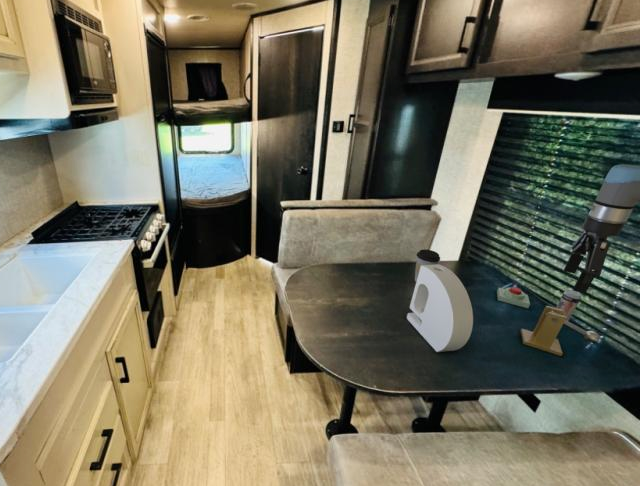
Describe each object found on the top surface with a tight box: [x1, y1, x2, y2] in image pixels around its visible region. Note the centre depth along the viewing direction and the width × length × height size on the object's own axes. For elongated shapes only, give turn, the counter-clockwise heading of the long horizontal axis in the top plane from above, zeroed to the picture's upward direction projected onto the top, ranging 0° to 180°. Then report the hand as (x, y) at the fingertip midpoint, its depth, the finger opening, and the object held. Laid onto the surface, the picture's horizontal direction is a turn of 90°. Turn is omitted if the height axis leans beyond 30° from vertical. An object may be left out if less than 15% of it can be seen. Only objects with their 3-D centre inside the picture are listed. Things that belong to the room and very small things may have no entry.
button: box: [510, 286, 523, 295], centre depth 132 cm, size 4×4×2 cm
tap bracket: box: [520, 305, 566, 357], centre depth 108 cm, size 10×8×14 cm
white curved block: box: [406, 263, 474, 353], centre depth 109 cm, size 7×21×25 cm, turn 6°
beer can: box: [555, 289, 582, 322], centre depth 120 cm, size 5×5×12 cm
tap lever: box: [546, 310, 601, 343], centre depth 104 cm, size 14×4×4 cm, turn 56°
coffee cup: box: [414, 248, 441, 283], centre depth 144 cm, size 9×9×15 cm
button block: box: [496, 287, 531, 309], centre depth 133 cm, size 10×8×4 cm
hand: (573, 281), depth 100 cm, fingers open, 13 cm apart
